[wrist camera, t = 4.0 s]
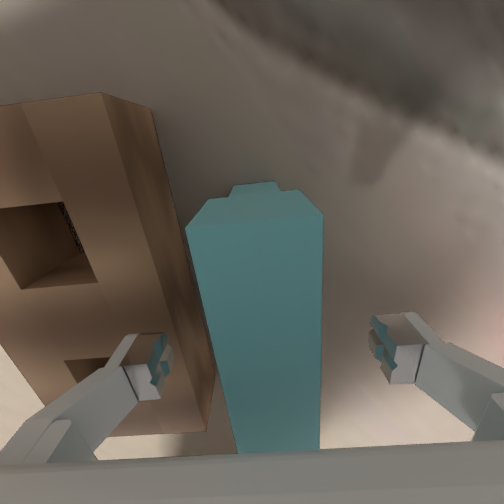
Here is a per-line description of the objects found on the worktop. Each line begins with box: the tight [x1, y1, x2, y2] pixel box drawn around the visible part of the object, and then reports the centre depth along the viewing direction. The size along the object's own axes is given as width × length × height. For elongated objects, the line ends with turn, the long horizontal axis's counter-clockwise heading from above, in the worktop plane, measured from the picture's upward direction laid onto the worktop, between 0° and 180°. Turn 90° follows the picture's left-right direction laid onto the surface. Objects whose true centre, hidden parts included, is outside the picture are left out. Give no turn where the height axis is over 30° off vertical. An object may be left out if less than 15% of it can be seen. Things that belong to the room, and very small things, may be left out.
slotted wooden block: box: [0, 92, 215, 437], centre depth 13 cm, size 18×9×4 cm, turn 6°
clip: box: [185, 181, 323, 453], centre depth 11 cm, size 11×3×8 cm, turn 6°
